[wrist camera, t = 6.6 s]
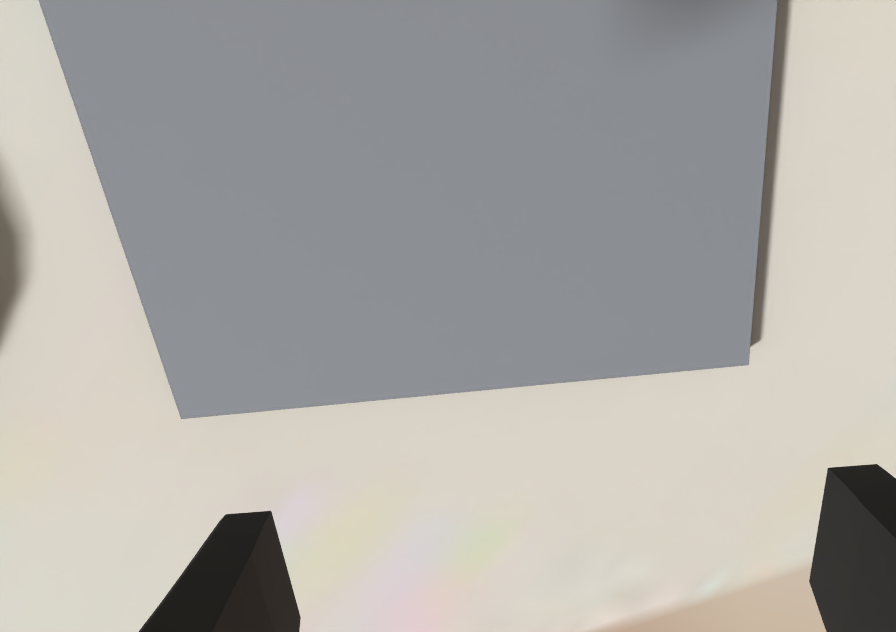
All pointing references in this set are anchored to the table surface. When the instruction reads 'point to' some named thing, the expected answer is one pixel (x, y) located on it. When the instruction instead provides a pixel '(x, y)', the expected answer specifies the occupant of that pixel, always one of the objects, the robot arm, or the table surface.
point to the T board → (426, 188)
